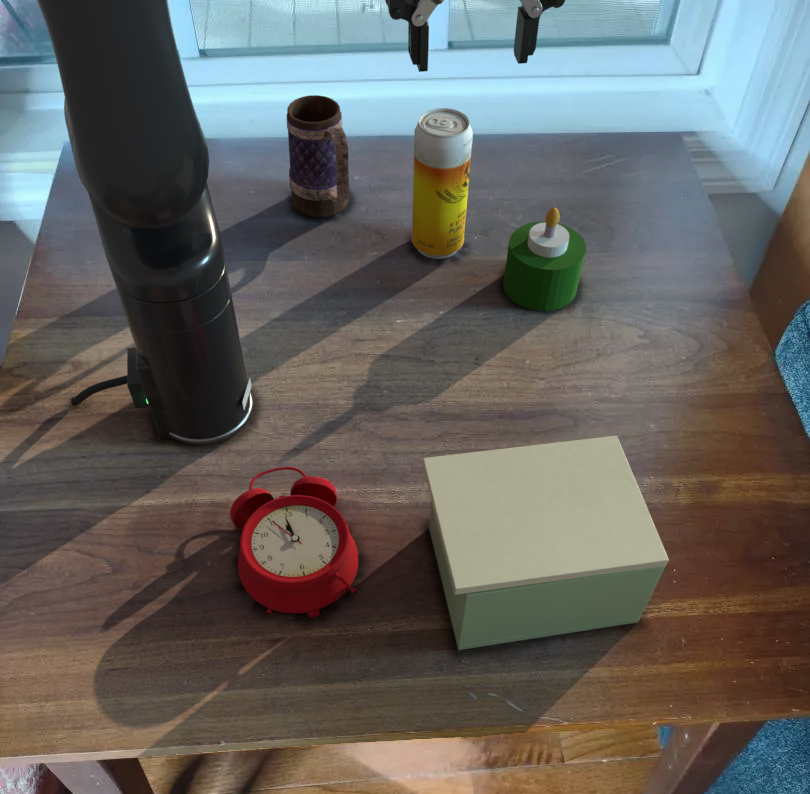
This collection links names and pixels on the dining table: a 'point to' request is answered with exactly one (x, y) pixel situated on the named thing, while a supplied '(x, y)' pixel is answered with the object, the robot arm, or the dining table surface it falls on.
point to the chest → (543, 604)
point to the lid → (540, 514)
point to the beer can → (440, 181)
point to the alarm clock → (294, 546)
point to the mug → (317, 156)
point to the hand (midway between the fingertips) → (470, 63)
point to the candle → (544, 264)
